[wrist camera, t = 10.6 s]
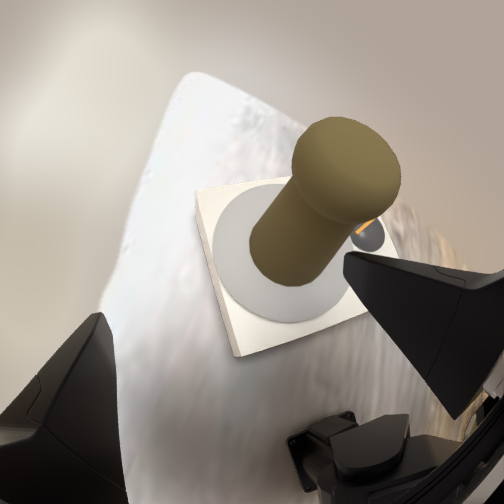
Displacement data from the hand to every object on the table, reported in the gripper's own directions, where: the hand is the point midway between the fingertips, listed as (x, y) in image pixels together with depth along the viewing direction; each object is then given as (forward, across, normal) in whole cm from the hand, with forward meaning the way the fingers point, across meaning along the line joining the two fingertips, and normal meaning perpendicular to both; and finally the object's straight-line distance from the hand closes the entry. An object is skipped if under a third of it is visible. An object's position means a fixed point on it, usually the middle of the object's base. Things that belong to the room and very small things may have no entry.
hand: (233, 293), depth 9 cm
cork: (+9, -6, +4) cm, 12 cm away
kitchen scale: (+12, -9, +7) cm, 17 cm away
